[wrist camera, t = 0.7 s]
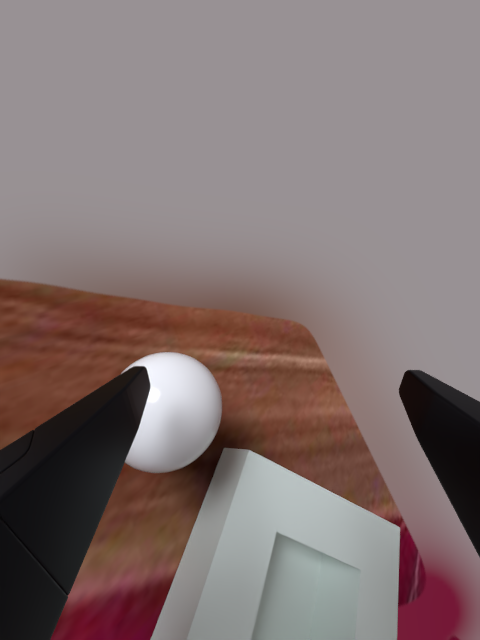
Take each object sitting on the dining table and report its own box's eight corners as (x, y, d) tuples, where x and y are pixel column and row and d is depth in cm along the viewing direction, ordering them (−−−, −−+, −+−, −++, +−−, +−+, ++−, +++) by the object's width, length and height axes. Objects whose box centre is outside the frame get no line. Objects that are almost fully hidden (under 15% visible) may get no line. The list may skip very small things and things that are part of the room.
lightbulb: (132, 366, 22) (148, 315, 13) (198, 396, 24) (254, 370, 14) (87, 443, 19) (65, 448, 10) (166, 473, 20) (213, 502, 11)
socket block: (324, 770, 18) (390, 873, 13) (120, 718, 15) (124, 826, 11) (352, 512, 25) (399, 527, 21) (223, 447, 23) (249, 449, 19)
